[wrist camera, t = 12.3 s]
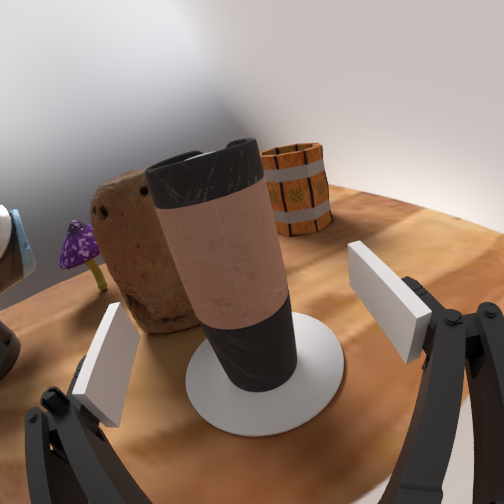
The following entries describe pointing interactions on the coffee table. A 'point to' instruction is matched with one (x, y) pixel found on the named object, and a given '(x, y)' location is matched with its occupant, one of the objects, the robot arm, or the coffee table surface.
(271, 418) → the place mat
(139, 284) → the block
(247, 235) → the travel mug
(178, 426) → the coffee table surface
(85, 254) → the decorative mushroom
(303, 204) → the mug
